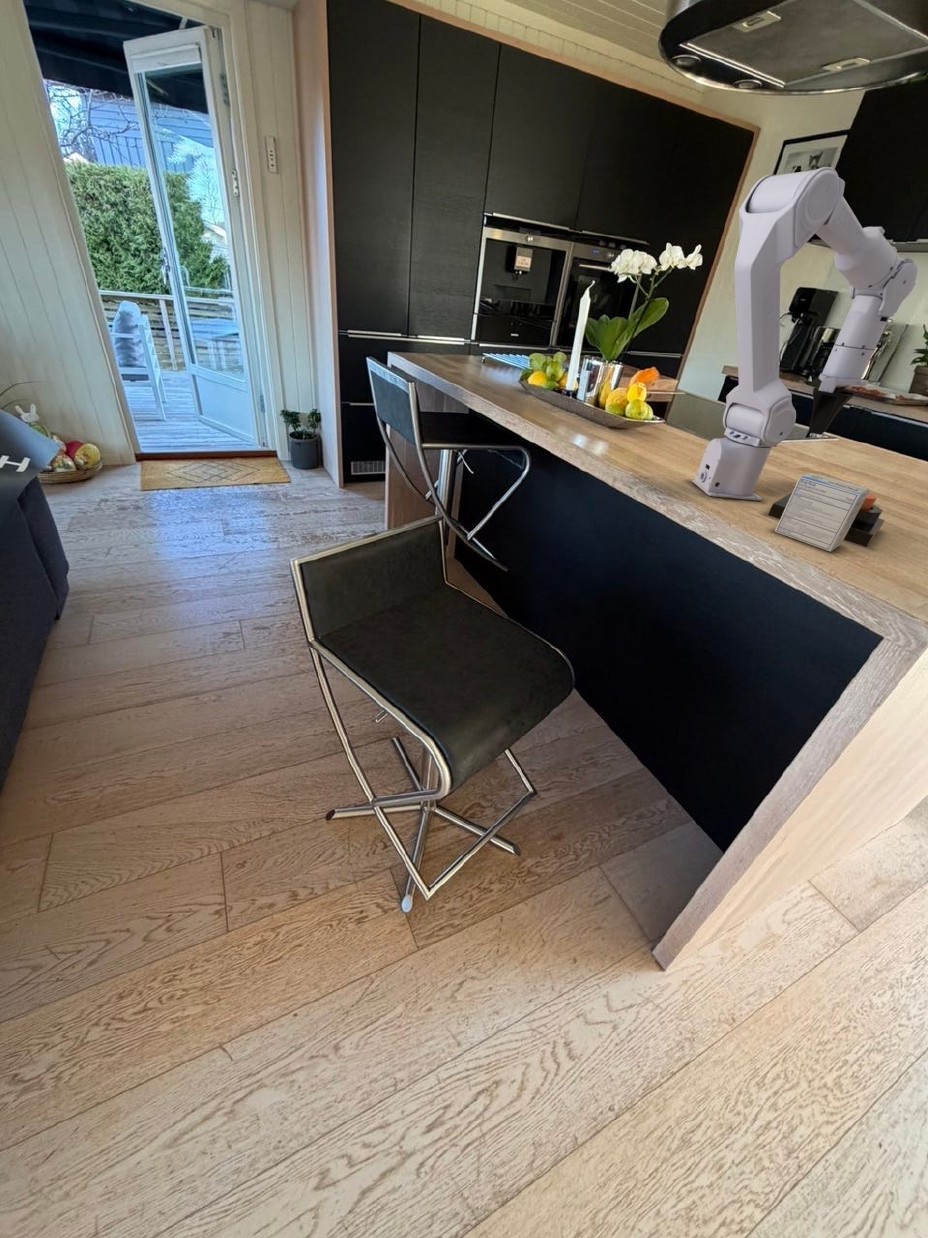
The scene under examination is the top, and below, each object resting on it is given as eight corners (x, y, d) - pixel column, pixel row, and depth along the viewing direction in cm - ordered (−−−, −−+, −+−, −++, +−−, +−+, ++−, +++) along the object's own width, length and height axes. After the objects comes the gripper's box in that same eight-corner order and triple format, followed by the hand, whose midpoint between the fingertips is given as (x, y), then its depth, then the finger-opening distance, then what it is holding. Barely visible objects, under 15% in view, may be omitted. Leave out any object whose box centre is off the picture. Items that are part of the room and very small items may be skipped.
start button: (867, 513, 78) (874, 500, 77) (840, 505, 80) (847, 492, 79) (871, 508, 80) (878, 495, 79) (845, 501, 82) (852, 488, 81)
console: (866, 547, 76) (880, 521, 74) (767, 515, 84) (778, 491, 81) (878, 531, 82) (892, 507, 80) (785, 503, 90) (795, 480, 88)
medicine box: (840, 546, 75) (872, 488, 70) (829, 553, 73) (862, 493, 68) (784, 526, 80) (811, 471, 75) (773, 532, 77) (799, 475, 73)
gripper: (873, 351, 78) (830, 443, 85) (890, 350, 87) (849, 433, 94) (822, 344, 82) (785, 433, 89) (843, 344, 91) (808, 424, 98)
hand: (815, 432), depth 92 cm, fingers closed
